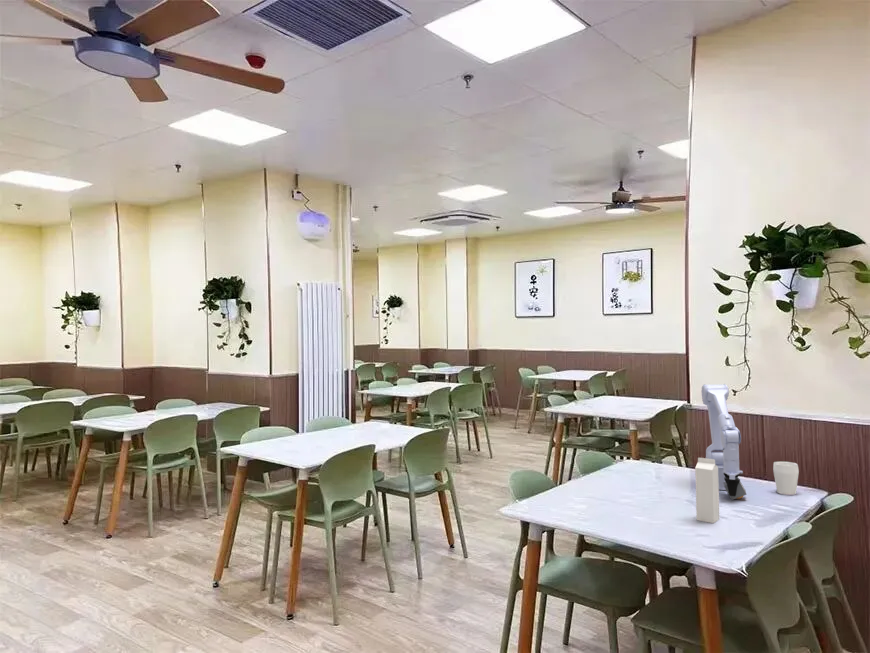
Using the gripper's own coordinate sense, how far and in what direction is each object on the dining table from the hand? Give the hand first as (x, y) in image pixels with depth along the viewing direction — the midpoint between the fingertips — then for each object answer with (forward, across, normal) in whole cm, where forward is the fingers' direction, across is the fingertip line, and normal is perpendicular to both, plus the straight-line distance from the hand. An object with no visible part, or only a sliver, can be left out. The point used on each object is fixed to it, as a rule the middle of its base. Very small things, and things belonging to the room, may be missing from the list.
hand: (732, 493), depth 242 cm
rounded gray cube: (+1, 0, -2) cm, 2 cm away
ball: (-1, 0, -2) cm, 2 cm away
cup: (+2, +15, -21) cm, 26 cm away
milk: (+2, -32, +9) cm, 33 cm away
